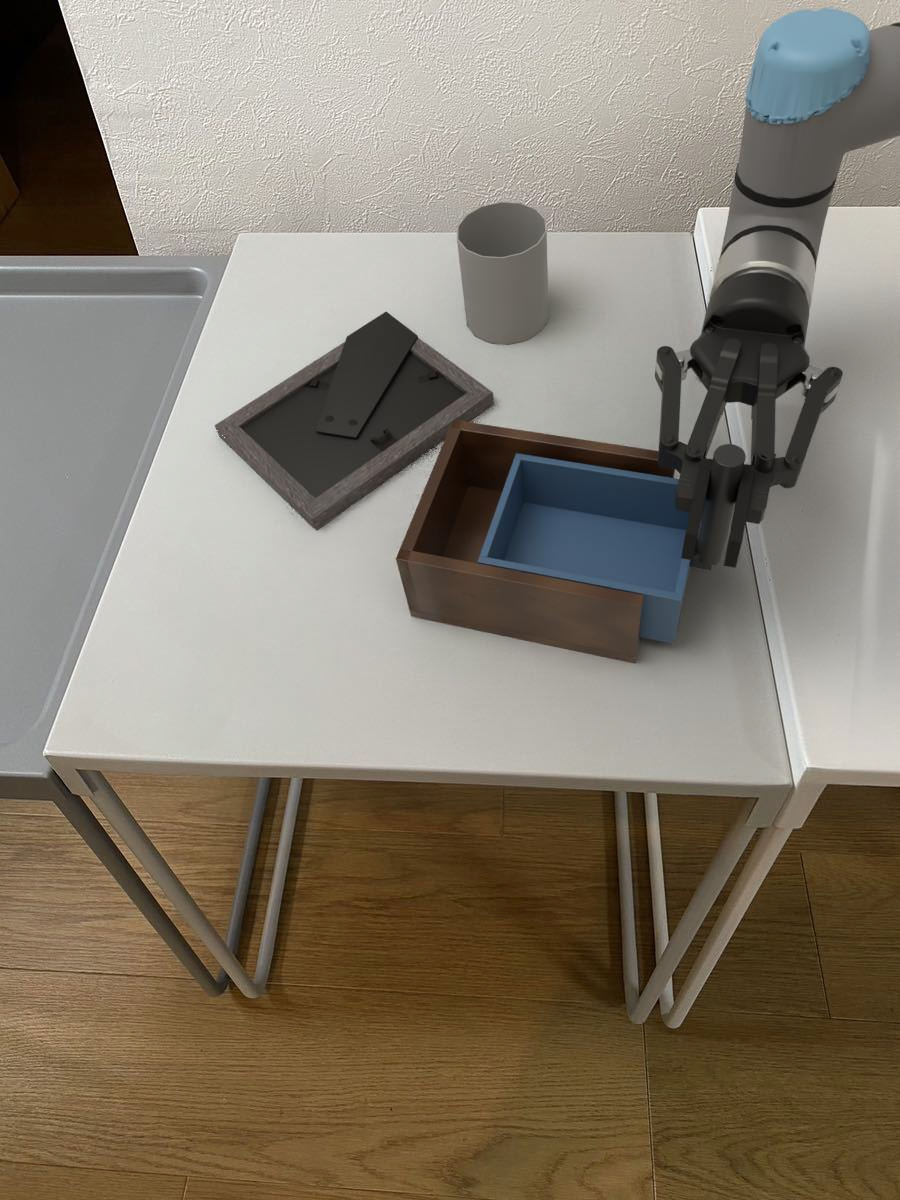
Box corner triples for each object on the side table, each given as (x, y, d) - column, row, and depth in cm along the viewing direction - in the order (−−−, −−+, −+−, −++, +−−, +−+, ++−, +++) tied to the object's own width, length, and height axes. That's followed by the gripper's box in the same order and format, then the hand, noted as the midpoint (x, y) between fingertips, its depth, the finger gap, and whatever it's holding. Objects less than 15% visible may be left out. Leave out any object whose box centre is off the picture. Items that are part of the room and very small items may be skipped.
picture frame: (389, 326, 95) (219, 437, 89) (386, 311, 93) (212, 422, 87) (493, 404, 88) (315, 530, 81) (492, 388, 86) (310, 516, 80)
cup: (457, 340, 93) (446, 254, 85) (475, 286, 97) (467, 199, 89) (541, 347, 91) (538, 260, 83) (555, 292, 95) (554, 204, 87)
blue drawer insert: (725, 535, 75) (757, 396, 62) (703, 650, 70) (733, 523, 57) (519, 500, 79) (509, 363, 67) (483, 605, 74) (465, 478, 61)
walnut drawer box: (668, 517, 78) (677, 453, 71) (634, 663, 71) (641, 606, 64) (462, 483, 83) (452, 419, 76) (410, 616, 75) (395, 558, 69)
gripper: (849, 358, 73) (821, 605, 61) (655, 335, 76) (593, 563, 65) (876, 278, 66) (849, 535, 55) (663, 257, 70) (595, 494, 58)
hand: (710, 550), depth 60 cm, fingers closed on blue drawer insert, 2 cm apart
